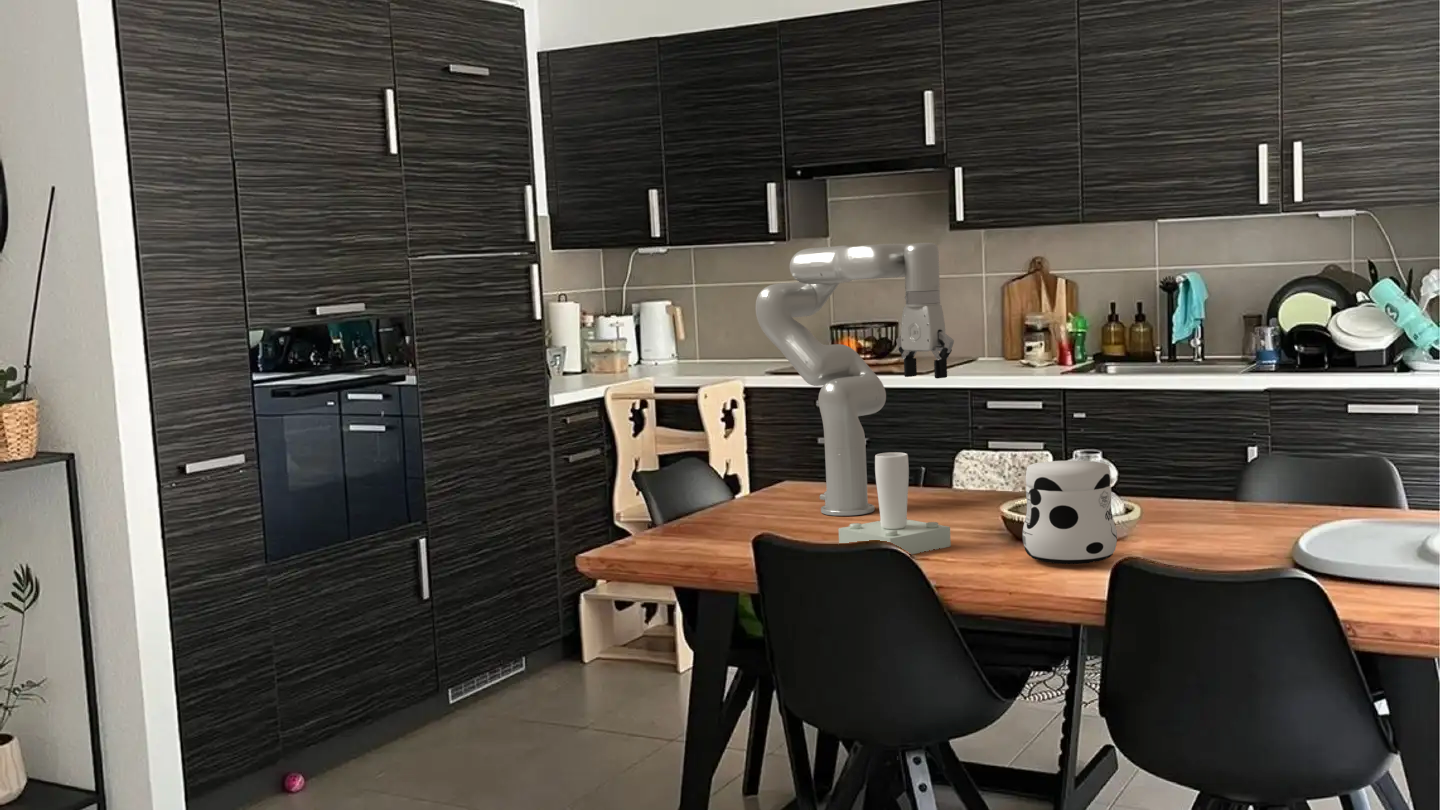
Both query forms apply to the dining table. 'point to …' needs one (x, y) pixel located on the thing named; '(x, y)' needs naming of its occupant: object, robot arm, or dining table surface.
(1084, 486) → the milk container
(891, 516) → the drinking glass
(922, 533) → the brick riser
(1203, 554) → the dining table surface
